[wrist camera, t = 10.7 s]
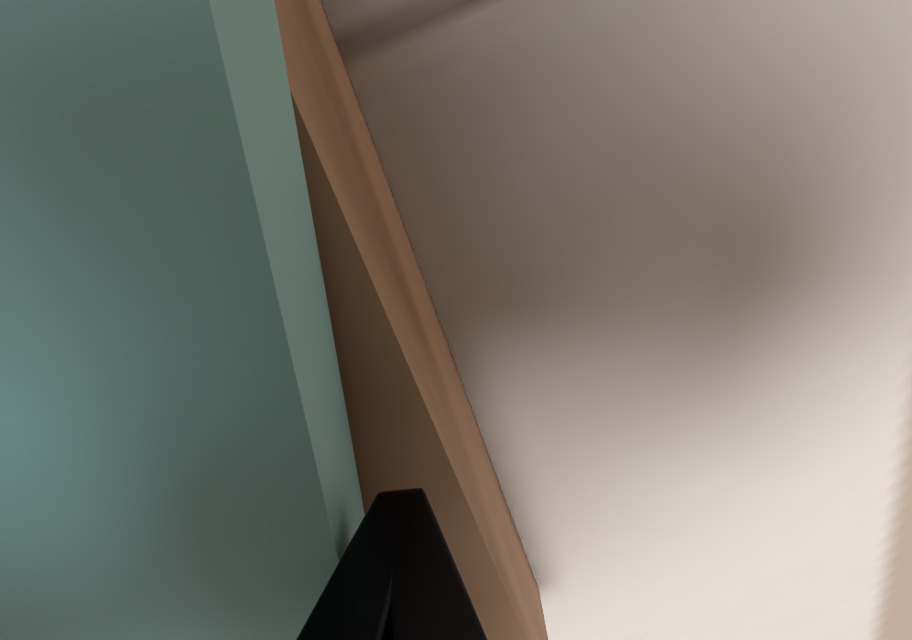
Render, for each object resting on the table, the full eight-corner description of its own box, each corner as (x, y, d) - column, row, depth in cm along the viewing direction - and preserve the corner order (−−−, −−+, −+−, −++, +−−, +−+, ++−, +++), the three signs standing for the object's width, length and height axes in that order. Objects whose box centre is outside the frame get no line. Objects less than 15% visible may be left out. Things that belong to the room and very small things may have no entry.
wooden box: (88, 687, 21) (28, 830, 18) (-1043, -115, 8) (-2127, -141, 4) (539, 590, 19) (564, 729, 16) (72, -667, 6) (-347, -1393, 3)
